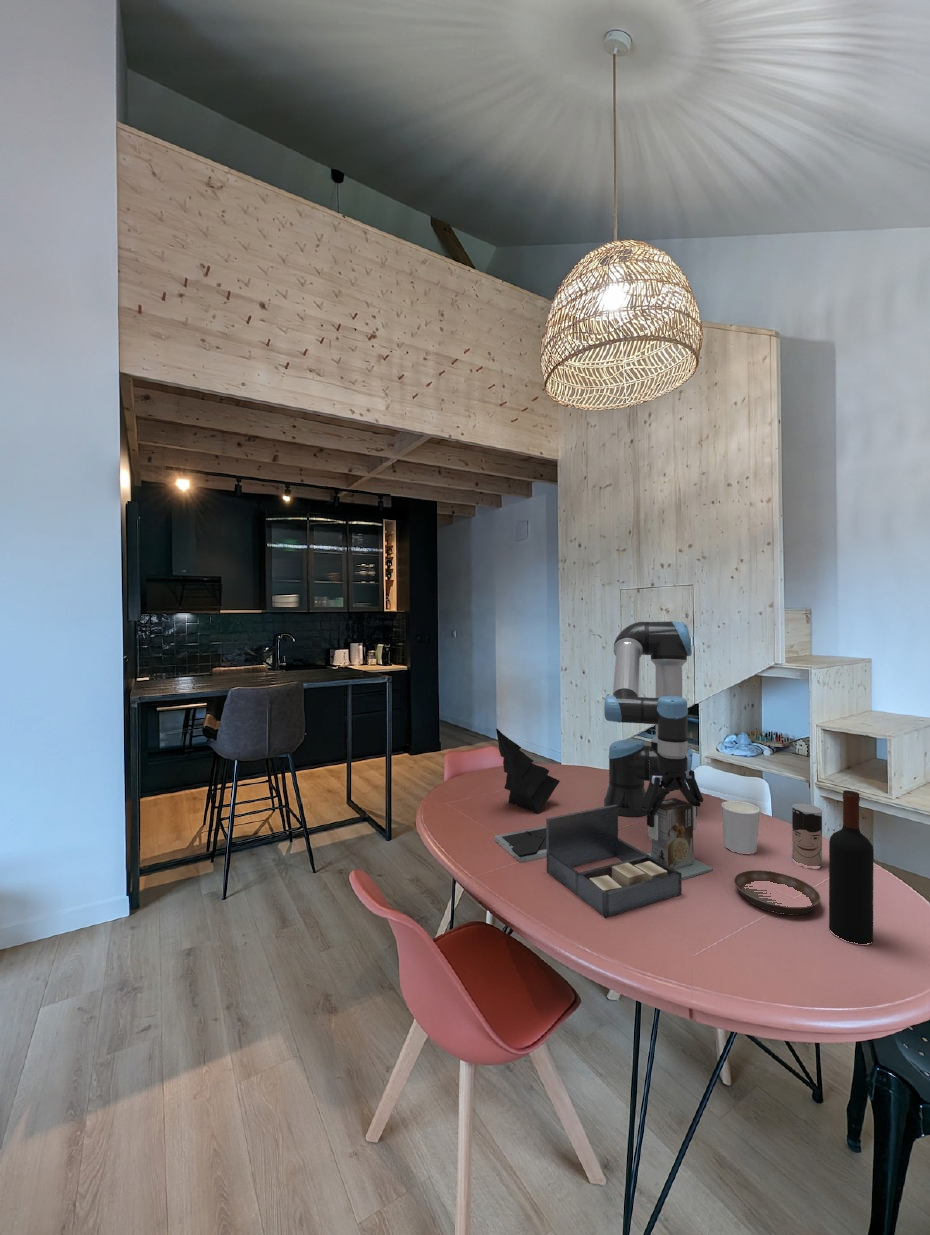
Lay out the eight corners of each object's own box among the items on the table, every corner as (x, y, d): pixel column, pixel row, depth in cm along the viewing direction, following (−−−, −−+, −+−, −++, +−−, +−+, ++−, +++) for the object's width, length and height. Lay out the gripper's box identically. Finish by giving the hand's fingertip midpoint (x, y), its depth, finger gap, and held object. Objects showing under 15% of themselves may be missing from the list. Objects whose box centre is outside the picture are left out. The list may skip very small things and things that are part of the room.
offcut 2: (649, 880, 136) (649, 861, 136) (667, 891, 131) (667, 871, 131) (634, 885, 134) (634, 865, 134) (651, 896, 129) (651, 875, 129)
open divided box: (615, 854, 151) (615, 804, 150) (681, 894, 129) (681, 836, 129) (546, 871, 141) (546, 818, 141) (605, 917, 120) (605, 855, 119)
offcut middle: (627, 886, 133) (627, 862, 133) (645, 898, 128) (645, 873, 128) (611, 891, 131) (611, 866, 131) (628, 903, 126) (628, 877, 126)
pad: (671, 849, 153) (671, 847, 153) (713, 870, 141) (713, 868, 141) (634, 859, 148) (633, 857, 148) (673, 882, 135) (673, 880, 135)
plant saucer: (721, 880, 136) (721, 868, 136) (792, 881, 136) (792, 869, 136) (756, 921, 119) (756, 907, 118) (838, 922, 118) (838, 908, 118)
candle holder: (764, 848, 154) (764, 806, 154) (754, 859, 147) (754, 816, 147) (727, 838, 161) (727, 798, 160) (716, 849, 153) (716, 807, 153)
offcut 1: (607, 893, 130) (607, 875, 130) (621, 906, 124) (621, 887, 124) (589, 897, 129) (589, 878, 129) (602, 910, 123) (602, 890, 123)
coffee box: (675, 854, 149) (675, 796, 149) (694, 864, 143) (694, 804, 143) (650, 861, 145) (650, 802, 145) (668, 871, 139) (668, 810, 139)
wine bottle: (820, 925, 116) (820, 787, 116) (853, 923, 117) (853, 786, 117) (848, 946, 109) (848, 799, 108) (882, 944, 109) (883, 798, 109)
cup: (786, 860, 146) (786, 806, 146) (802, 855, 149) (802, 802, 149) (811, 871, 140) (811, 814, 140) (827, 866, 143) (827, 810, 143)
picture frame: (520, 865, 146) (583, 851, 154) (520, 855, 146) (583, 841, 154) (494, 842, 160) (553, 830, 169) (494, 833, 160) (553, 821, 169)
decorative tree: (512, 810, 193) (468, 740, 180) (535, 779, 201) (494, 710, 187) (543, 822, 182) (498, 748, 169) (566, 789, 189) (524, 716, 176)
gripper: (694, 746, 152) (694, 820, 153) (626, 757, 142) (626, 836, 142) (717, 752, 146) (717, 830, 146) (646, 765, 135) (647, 848, 136)
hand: (672, 833), depth 144 cm, fingers open, 13 cm apart
